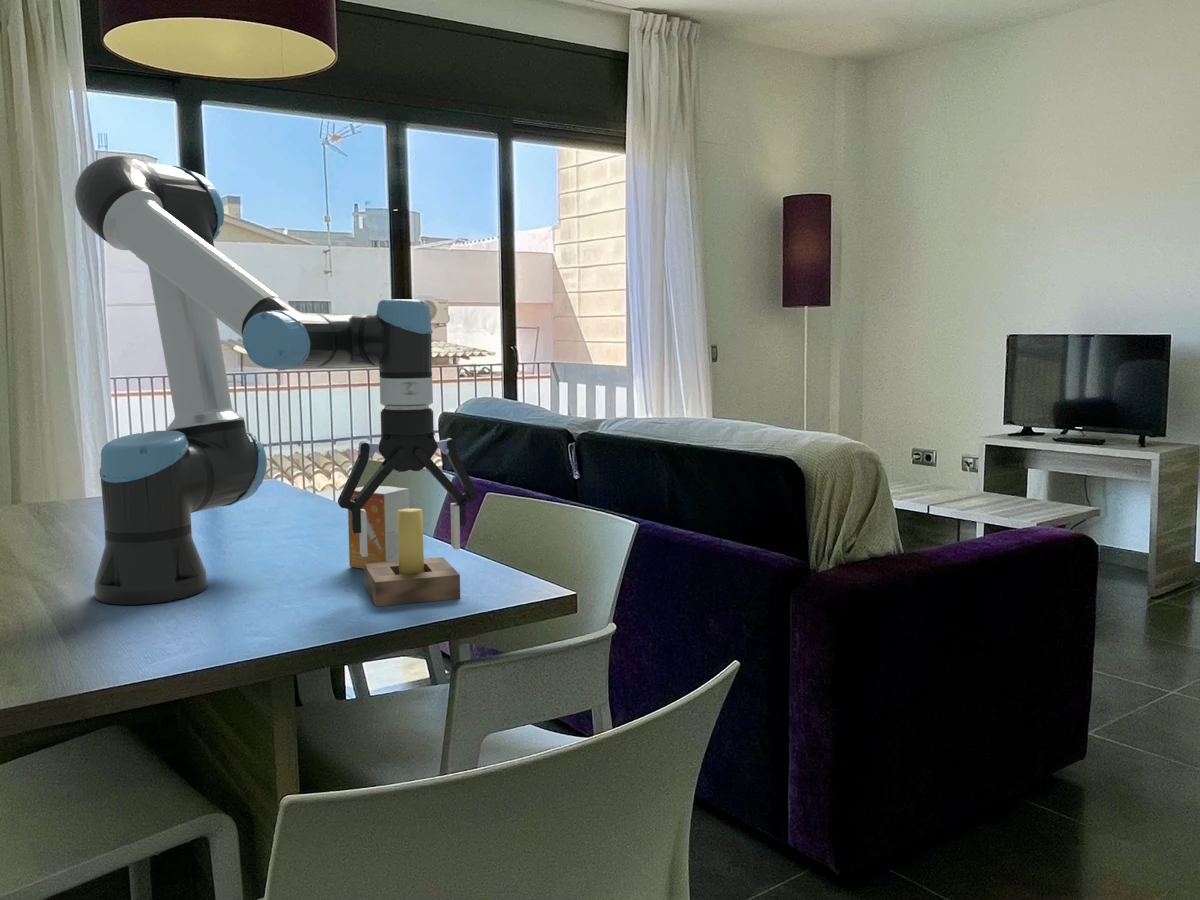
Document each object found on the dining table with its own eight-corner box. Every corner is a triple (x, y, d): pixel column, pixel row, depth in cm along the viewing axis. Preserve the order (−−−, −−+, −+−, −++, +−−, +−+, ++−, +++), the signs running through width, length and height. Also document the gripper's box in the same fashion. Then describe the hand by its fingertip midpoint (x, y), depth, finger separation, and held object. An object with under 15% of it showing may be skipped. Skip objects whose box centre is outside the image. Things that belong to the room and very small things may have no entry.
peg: (401, 594, 141) (399, 513, 140) (397, 588, 145) (395, 509, 143) (426, 592, 143) (424, 511, 141) (422, 586, 146) (419, 507, 145)
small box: (348, 567, 159) (346, 489, 158) (375, 560, 165) (373, 484, 163) (386, 573, 155) (384, 493, 154) (412, 565, 161) (410, 487, 159)
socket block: (376, 606, 136) (375, 582, 136) (365, 586, 148) (364, 563, 147) (460, 598, 141) (459, 574, 140) (443, 579, 152) (443, 557, 151)
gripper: (320, 411, 133) (325, 563, 136) (496, 406, 142) (498, 549, 144) (315, 407, 140) (321, 552, 142) (484, 403, 149) (486, 539, 151)
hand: (410, 551), depth 143 cm, fingers open, 13 cm apart
